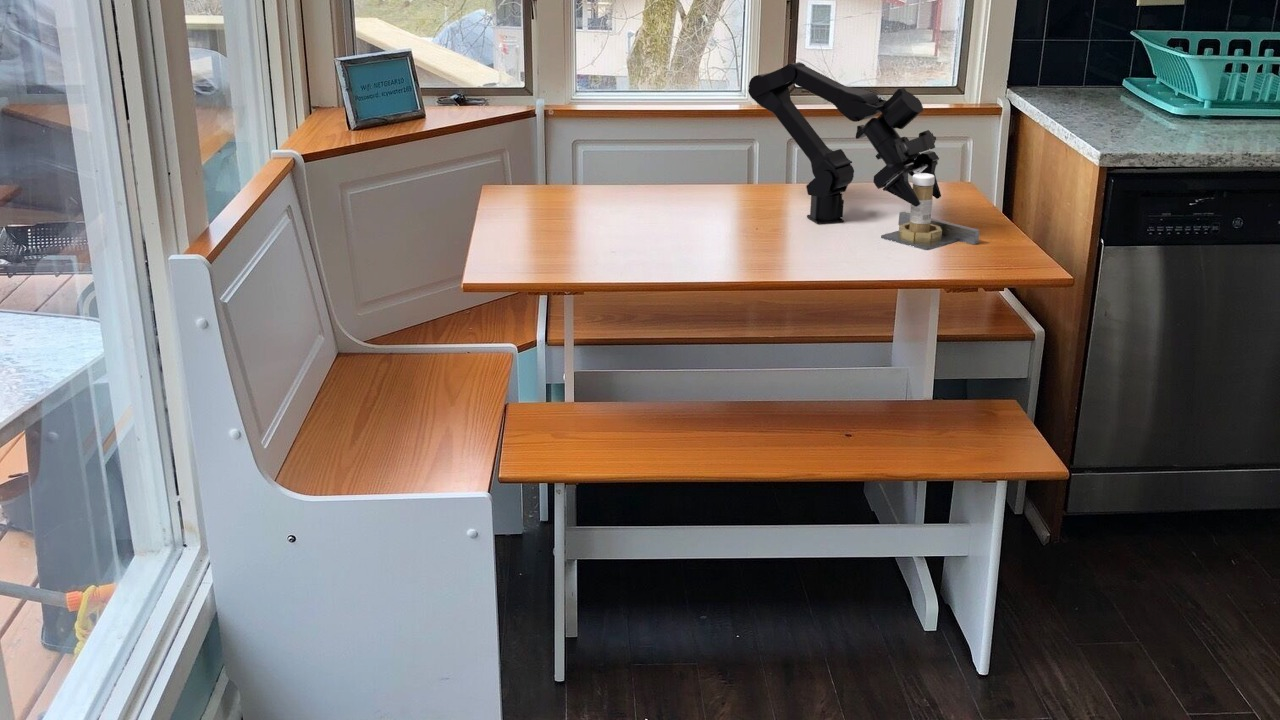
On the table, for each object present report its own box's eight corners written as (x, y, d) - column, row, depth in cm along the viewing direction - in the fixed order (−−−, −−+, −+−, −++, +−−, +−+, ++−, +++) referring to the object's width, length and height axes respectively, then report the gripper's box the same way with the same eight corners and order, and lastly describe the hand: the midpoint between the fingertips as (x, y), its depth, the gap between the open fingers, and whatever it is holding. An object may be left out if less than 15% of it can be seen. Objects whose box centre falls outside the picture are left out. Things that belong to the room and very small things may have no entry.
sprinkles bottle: (923, 232, 262) (929, 171, 257) (933, 238, 258) (938, 176, 253) (904, 234, 261) (909, 173, 256) (913, 240, 257) (918, 177, 252)
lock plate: (866, 234, 263) (867, 220, 262) (902, 224, 271) (903, 211, 270) (942, 254, 249) (943, 240, 248) (978, 243, 257) (979, 229, 256)
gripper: (891, 125, 246) (934, 186, 244) (935, 113, 259) (977, 171, 257) (854, 157, 254) (896, 218, 251) (899, 144, 267) (939, 201, 264)
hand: (928, 201), depth 256 cm, fingers open, 9 cm apart
